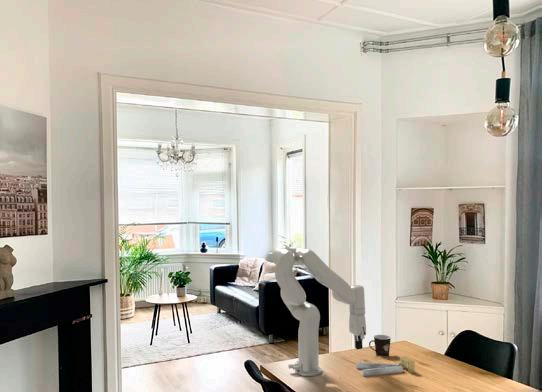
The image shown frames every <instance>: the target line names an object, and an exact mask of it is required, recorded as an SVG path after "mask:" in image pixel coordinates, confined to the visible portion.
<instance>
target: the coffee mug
mask: <svg viewBox="0 0 542 392" xmlns="http://www.w3.org/2000/svg"><path fill="white" fill-rule="evenodd" d="M391 338H392V337H391V336H390V335H388V334H387V335H386V334H375V335H373V340H370V341H369V342H368V346H369V348H370V349H371V350H372V351H374V352H375V356H376V357H390V348H391ZM372 342H374V348H373V347H372V346H371V343H372Z"/></svg>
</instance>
